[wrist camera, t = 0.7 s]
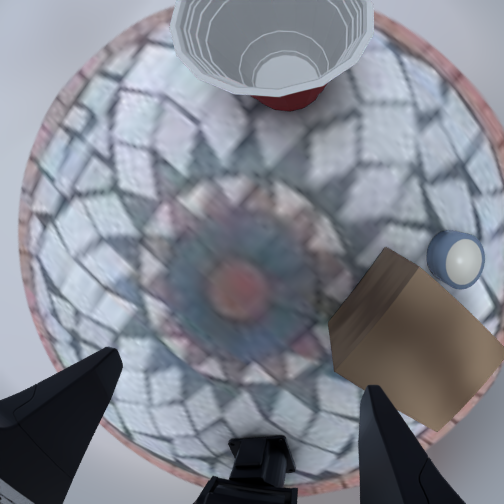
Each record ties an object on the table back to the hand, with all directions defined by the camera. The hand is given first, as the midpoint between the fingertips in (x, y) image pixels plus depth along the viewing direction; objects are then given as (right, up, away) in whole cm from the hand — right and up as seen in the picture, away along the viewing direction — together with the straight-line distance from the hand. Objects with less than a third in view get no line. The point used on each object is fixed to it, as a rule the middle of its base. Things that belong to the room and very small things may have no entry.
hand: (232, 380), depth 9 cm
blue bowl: (+18, +4, +13) cm, 22 cm away
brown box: (+14, -2, +14) cm, 20 cm away
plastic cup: (+4, +18, +13) cm, 23 cm away
